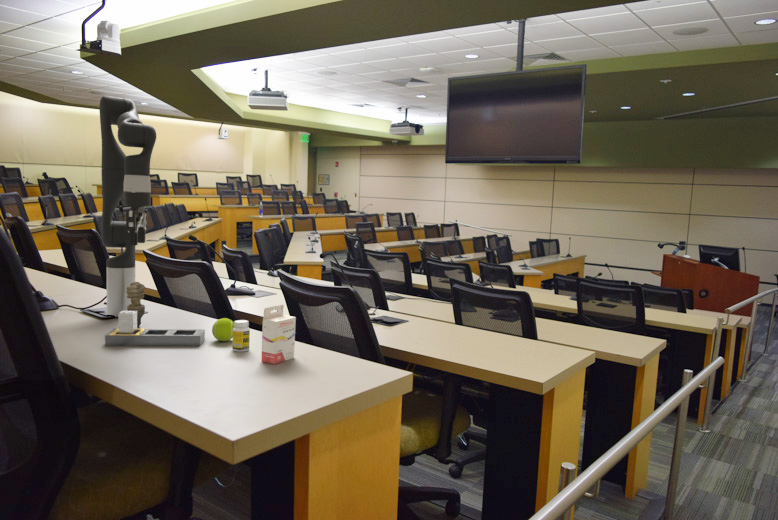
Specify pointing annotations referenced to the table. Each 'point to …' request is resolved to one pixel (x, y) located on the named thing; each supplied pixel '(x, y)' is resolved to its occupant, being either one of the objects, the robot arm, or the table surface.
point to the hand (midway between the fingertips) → (137, 244)
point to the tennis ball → (223, 329)
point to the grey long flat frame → (156, 337)
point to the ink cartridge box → (277, 335)
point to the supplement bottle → (241, 336)
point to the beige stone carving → (136, 299)
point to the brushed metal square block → (127, 322)
